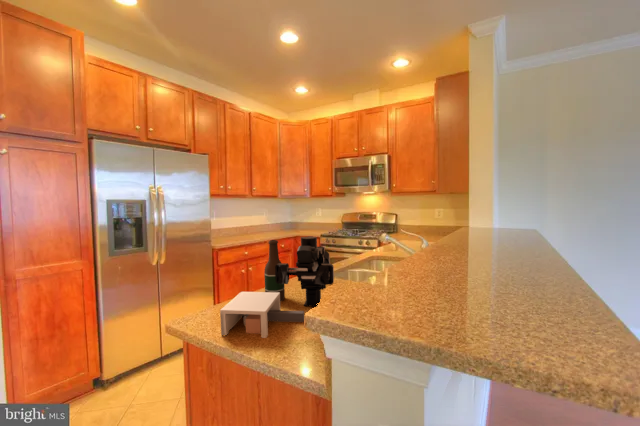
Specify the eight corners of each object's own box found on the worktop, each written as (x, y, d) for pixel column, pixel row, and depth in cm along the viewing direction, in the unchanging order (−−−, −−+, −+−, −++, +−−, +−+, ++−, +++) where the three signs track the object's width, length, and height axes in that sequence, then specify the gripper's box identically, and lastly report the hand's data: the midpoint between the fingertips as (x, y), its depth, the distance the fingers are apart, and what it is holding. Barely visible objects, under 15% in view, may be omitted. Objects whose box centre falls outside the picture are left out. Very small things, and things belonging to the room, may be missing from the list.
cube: (251, 326, 92) (250, 312, 92) (264, 326, 92) (264, 313, 91) (246, 333, 88) (245, 318, 87) (260, 333, 87) (259, 319, 87)
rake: (249, 318, 98) (249, 309, 98) (304, 319, 96) (304, 311, 96) (243, 325, 93) (243, 316, 92) (301, 327, 91) (301, 318, 90)
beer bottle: (261, 301, 113) (259, 241, 111) (273, 295, 120) (271, 238, 118) (277, 304, 109) (275, 242, 108) (288, 297, 116) (287, 239, 115)
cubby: (242, 313, 102) (241, 291, 101) (280, 314, 100) (279, 292, 99) (221, 335, 86) (220, 310, 85) (266, 337, 84) (265, 311, 84)
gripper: (281, 244, 99) (267, 254, 84) (334, 244, 97) (330, 254, 82) (282, 276, 100) (268, 291, 85) (335, 276, 98) (331, 292, 82)
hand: (299, 281), depth 83 cm, fingers open, 9 cm apart
